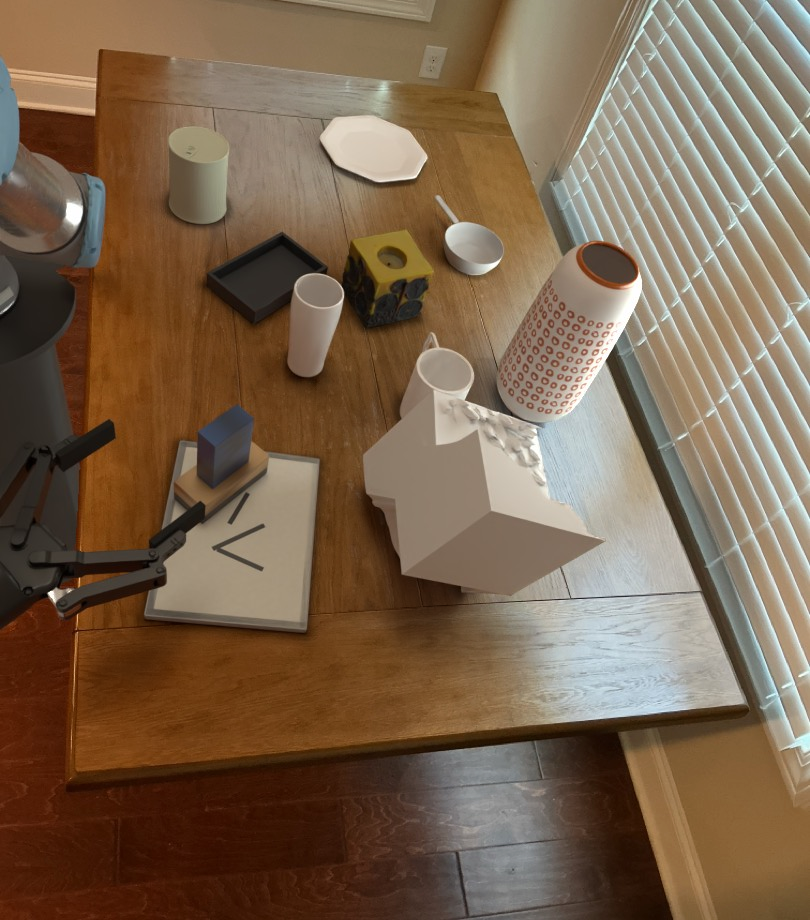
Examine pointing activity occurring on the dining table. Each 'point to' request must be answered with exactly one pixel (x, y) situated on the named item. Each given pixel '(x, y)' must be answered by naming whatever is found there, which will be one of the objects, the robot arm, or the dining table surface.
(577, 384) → the patterned vase
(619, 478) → the dining table surface
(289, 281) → the tray
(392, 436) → the tissue box
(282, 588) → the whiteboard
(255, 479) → the blue block with base
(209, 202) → the can
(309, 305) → the drinking glass
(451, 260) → the small pan
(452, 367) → the cup
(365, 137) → the plate
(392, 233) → the candle
